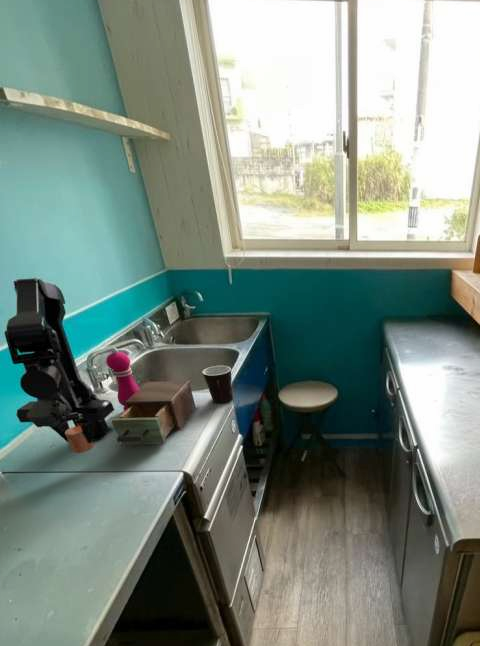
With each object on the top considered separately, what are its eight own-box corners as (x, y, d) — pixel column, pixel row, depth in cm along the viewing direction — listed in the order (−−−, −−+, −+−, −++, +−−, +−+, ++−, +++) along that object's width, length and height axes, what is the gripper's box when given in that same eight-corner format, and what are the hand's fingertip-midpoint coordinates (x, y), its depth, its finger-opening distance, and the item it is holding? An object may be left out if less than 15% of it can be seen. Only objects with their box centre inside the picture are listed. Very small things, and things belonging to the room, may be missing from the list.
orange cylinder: (97, 443, 97) (89, 425, 95) (85, 455, 93) (76, 437, 90) (79, 443, 97) (71, 426, 94) (66, 455, 93) (57, 437, 90)
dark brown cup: (216, 393, 134) (210, 365, 128) (240, 394, 133) (235, 366, 127) (200, 408, 124) (192, 378, 119) (226, 409, 123) (219, 379, 118)
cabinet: (179, 430, 112) (171, 400, 107) (135, 431, 112) (124, 401, 107) (196, 408, 124) (188, 380, 119) (156, 408, 124) (147, 381, 119)
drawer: (157, 453, 100) (148, 428, 96) (112, 454, 100) (101, 429, 96) (182, 420, 115) (175, 397, 111) (143, 421, 115) (135, 398, 111)
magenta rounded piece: (142, 416, 120) (119, 351, 109) (118, 416, 120) (93, 351, 109) (152, 406, 126) (132, 343, 115) (130, 406, 126) (107, 343, 115)
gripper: (-20, 397, 79) (18, 461, 88) (74, 395, 79) (102, 460, 88) (19, 377, 88) (50, 437, 97) (102, 375, 89) (126, 435, 97)
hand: (81, 442), depth 95 cm, fingers closed on orange cylinder, 4 cm apart
